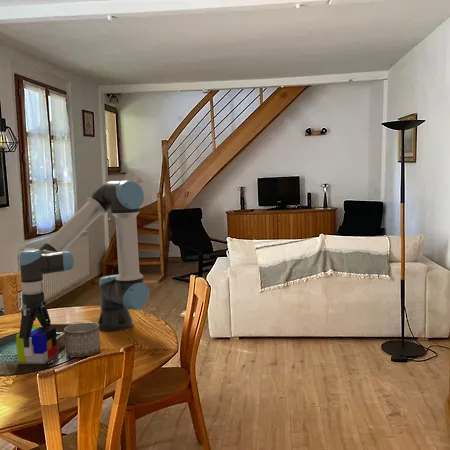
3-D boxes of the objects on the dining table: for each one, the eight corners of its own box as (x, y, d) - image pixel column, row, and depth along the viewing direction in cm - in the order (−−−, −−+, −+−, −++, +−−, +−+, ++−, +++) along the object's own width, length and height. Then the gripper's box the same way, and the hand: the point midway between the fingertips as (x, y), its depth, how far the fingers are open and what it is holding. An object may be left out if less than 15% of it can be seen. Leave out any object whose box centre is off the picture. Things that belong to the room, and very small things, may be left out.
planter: (68, 362, 182) (66, 334, 181) (64, 351, 194) (62, 325, 193) (103, 355, 187) (101, 328, 186) (97, 345, 199) (95, 320, 198)
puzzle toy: (43, 362, 181) (40, 335, 180) (18, 361, 183) (15, 335, 182) (57, 353, 190) (55, 327, 189) (33, 352, 192) (31, 326, 191)
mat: (57, 354, 191) (57, 352, 191) (44, 364, 181) (44, 362, 181) (32, 354, 192) (32, 352, 192) (18, 364, 182) (18, 362, 182)
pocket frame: (46, 333, 217) (46, 323, 217) (78, 333, 215) (78, 323, 215) (18, 352, 194) (17, 341, 194) (54, 353, 192) (53, 341, 192)
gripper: (39, 285, 196) (43, 339, 198) (5, 300, 172) (10, 361, 174) (57, 285, 195) (61, 339, 197) (25, 300, 171) (30, 361, 173)
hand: (37, 349), depth 186 cm, fingers open, 12 cm apart
